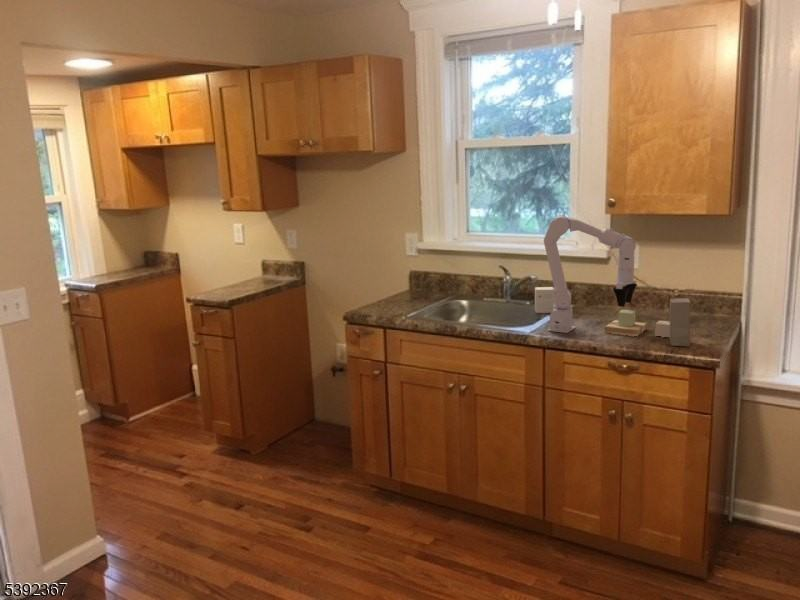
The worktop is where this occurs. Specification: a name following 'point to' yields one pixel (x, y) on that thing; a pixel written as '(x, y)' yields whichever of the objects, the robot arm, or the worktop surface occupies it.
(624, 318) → the sage block
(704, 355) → the worktop surface
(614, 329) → the birch base block
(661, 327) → the grey block
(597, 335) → the worktop surface
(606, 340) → the worktop surface
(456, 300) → the worktop surface
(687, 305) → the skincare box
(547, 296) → the small box
